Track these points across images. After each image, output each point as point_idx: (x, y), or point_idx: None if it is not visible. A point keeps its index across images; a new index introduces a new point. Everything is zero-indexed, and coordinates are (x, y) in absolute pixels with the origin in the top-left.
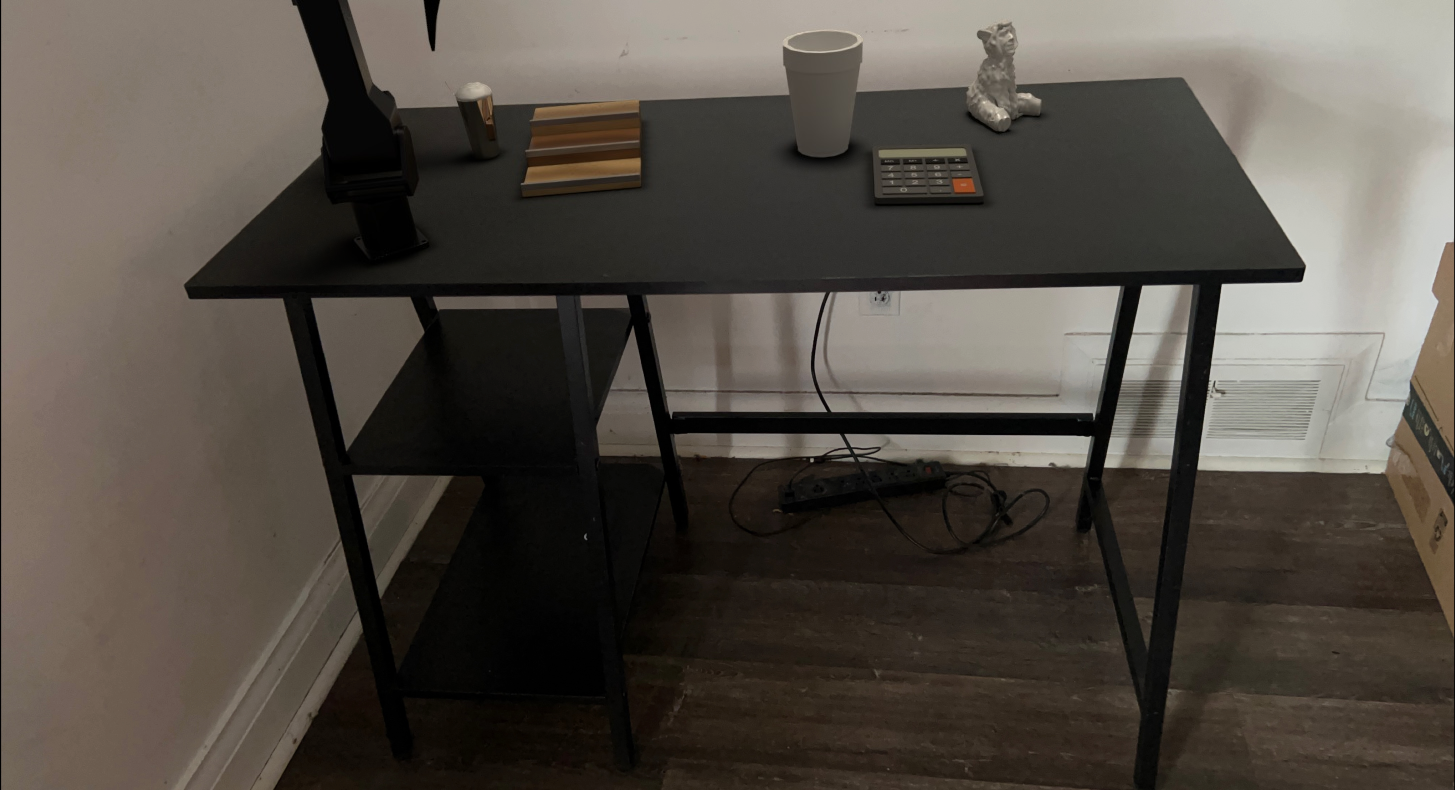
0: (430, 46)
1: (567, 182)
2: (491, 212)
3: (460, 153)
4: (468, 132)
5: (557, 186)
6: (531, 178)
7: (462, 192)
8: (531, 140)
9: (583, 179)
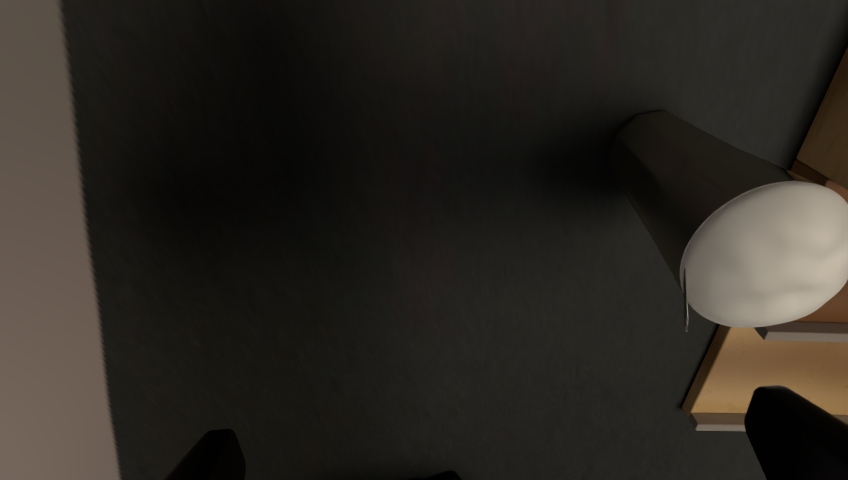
0: (762, 464)
1: None
2: (607, 446)
3: (564, 107)
4: (639, 210)
5: None
6: (725, 370)
7: (556, 361)
8: None
9: None
